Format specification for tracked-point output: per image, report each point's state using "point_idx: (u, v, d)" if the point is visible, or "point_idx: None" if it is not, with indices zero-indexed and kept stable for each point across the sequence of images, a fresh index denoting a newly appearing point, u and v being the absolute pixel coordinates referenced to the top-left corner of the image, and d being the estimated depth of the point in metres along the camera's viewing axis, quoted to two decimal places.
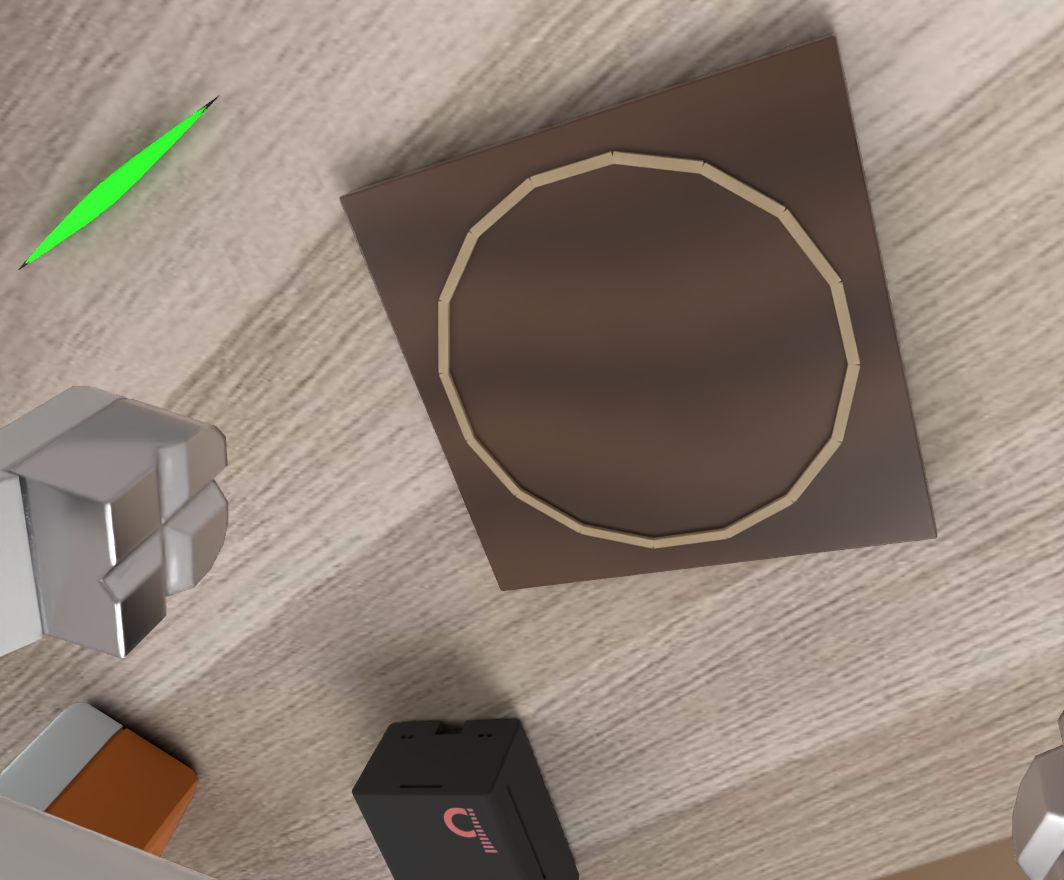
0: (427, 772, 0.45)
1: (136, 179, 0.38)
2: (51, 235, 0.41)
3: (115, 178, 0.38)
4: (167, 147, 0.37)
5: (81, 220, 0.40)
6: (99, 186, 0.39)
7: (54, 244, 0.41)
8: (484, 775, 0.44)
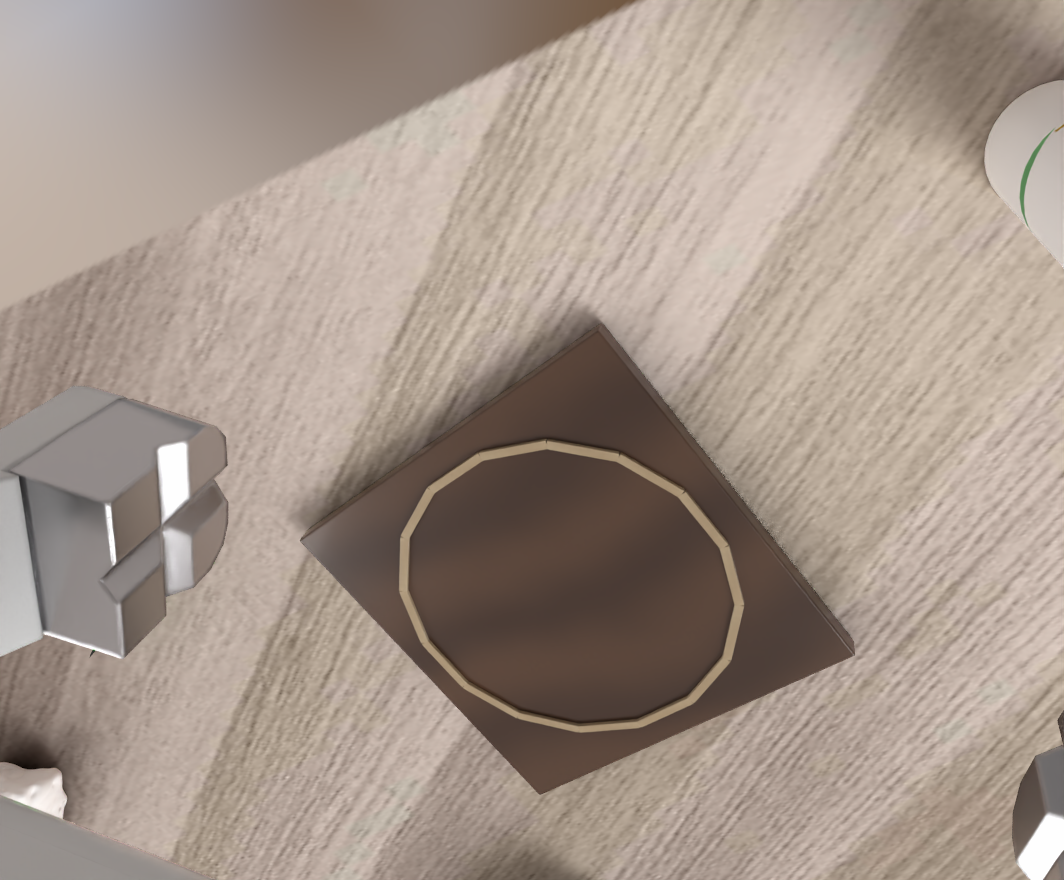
0: None
1: None
2: None
3: None
4: None
5: None
6: None
7: None
8: None
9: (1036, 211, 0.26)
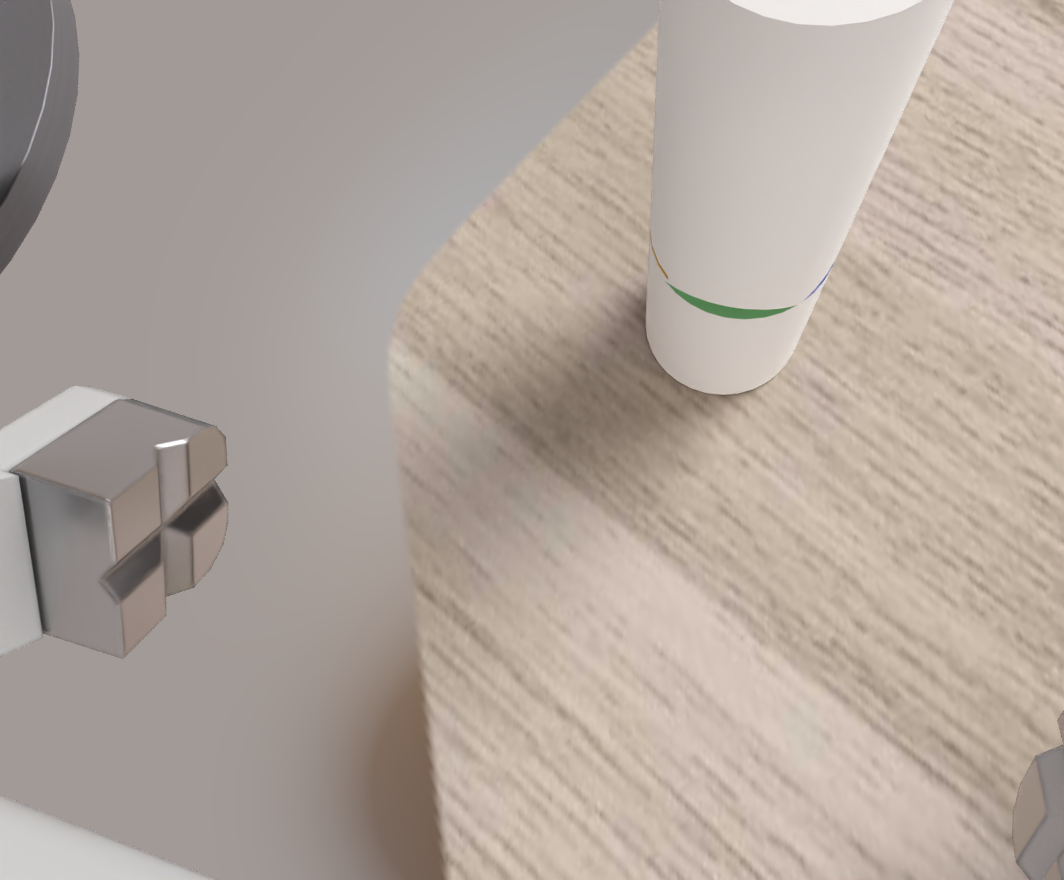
0: None
1: None
2: None
3: None
4: None
5: None
6: None
7: None
8: None
9: (752, 279, 0.20)
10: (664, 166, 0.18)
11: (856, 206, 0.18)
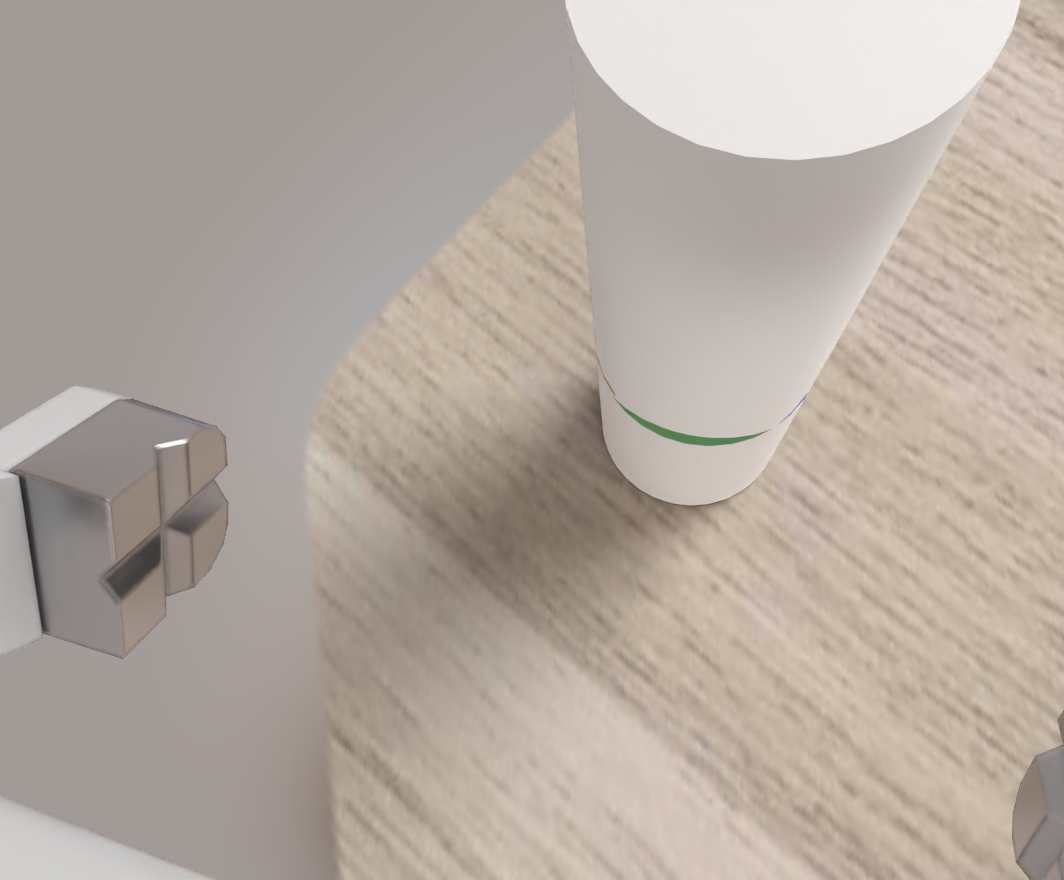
0: None
1: None
2: None
3: None
4: None
5: None
6: None
7: None
8: None
9: (713, 412, 0.16)
10: (597, 285, 0.14)
11: (840, 332, 0.15)
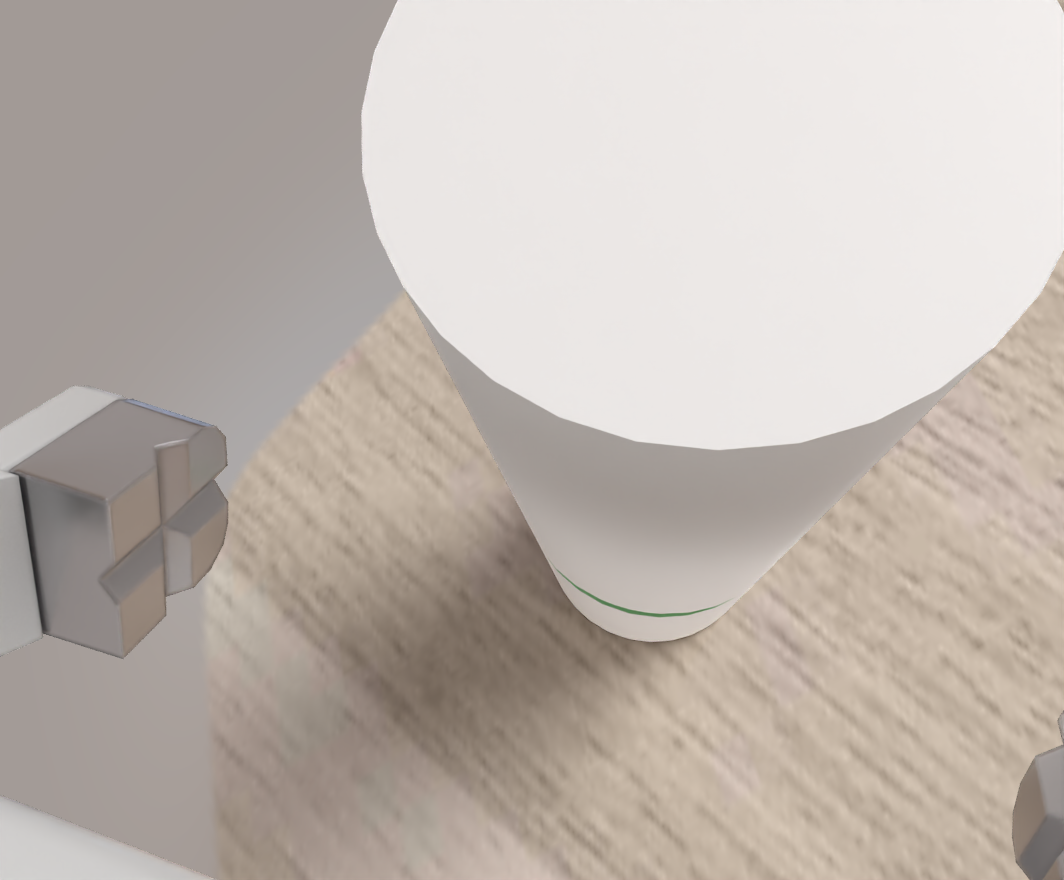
0: None
1: None
2: None
3: None
4: None
5: None
6: None
7: None
8: None
9: (657, 602, 0.12)
10: None
11: None
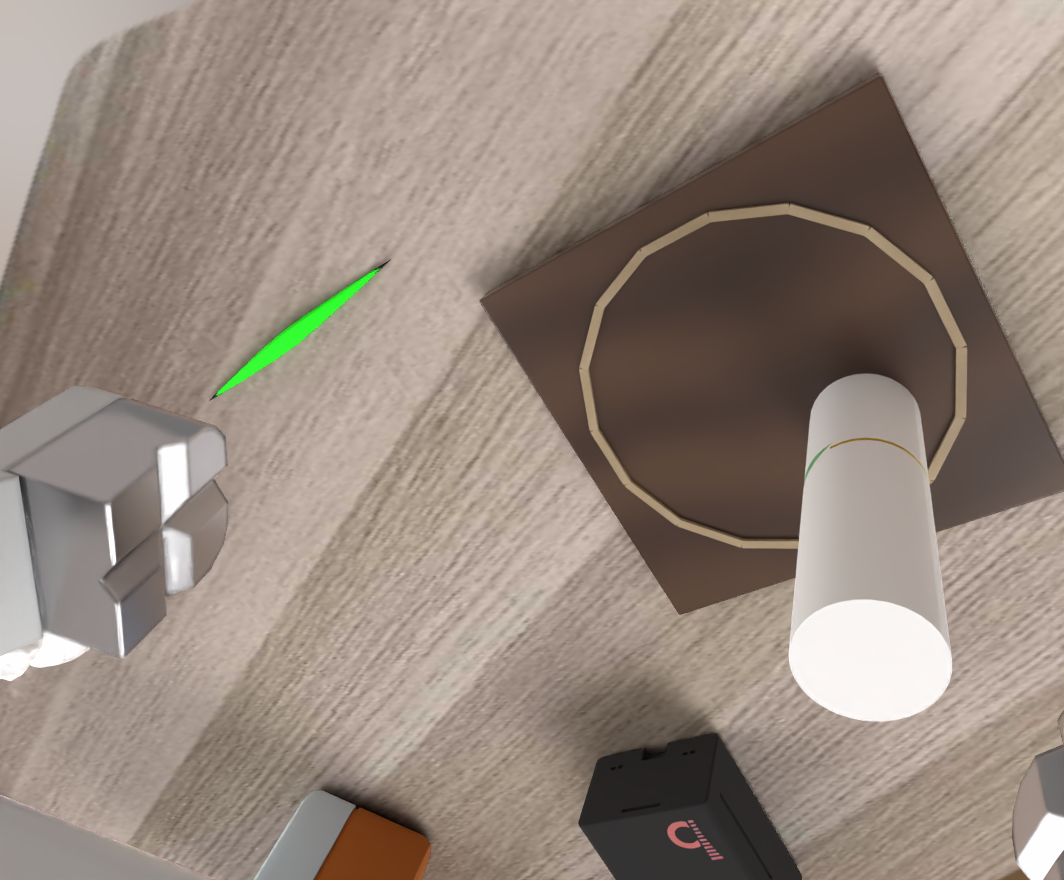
0: (643, 794, 0.49)
1: (316, 326, 0.46)
2: (240, 372, 0.48)
3: (299, 326, 0.46)
4: (344, 301, 0.45)
5: (267, 360, 0.47)
6: (284, 333, 0.46)
7: (242, 379, 0.48)
8: (696, 788, 0.47)
9: (801, 512, 0.34)
10: (839, 501, 0.31)
11: None
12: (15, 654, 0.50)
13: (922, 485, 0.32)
